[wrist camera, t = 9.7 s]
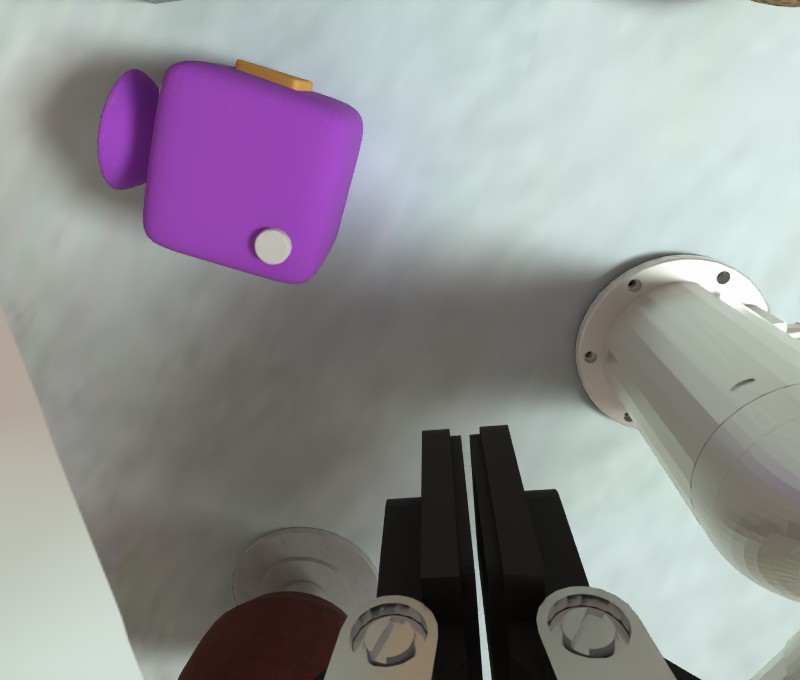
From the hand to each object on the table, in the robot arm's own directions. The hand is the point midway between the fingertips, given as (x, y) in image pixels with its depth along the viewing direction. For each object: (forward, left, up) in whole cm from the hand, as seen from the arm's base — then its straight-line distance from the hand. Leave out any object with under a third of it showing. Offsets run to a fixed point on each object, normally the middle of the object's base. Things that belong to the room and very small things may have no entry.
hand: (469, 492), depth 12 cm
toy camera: (+11, -5, -29) cm, 32 cm away
